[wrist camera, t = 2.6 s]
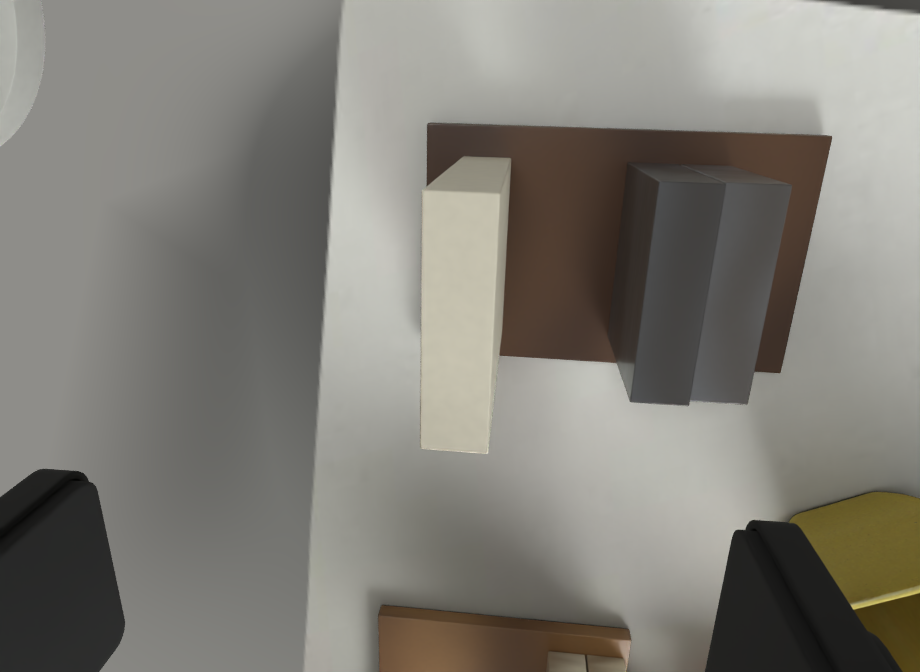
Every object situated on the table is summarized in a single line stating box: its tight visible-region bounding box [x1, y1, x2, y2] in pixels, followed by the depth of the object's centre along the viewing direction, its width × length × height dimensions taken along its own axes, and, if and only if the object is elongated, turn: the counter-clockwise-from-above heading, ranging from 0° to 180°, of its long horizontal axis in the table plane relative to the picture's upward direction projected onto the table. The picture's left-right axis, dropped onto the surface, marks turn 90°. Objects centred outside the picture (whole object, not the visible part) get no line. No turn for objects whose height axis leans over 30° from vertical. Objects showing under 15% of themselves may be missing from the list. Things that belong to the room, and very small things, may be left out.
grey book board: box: [427, 123, 832, 406], centre depth 29 cm, size 19×12×9 cm, turn 88°
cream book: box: [420, 156, 511, 454], centre depth 27 cm, size 2×9×13 cm, turn 179°
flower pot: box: [789, 492, 920, 672], centre depth 33 cm, size 9×9×9 cm
